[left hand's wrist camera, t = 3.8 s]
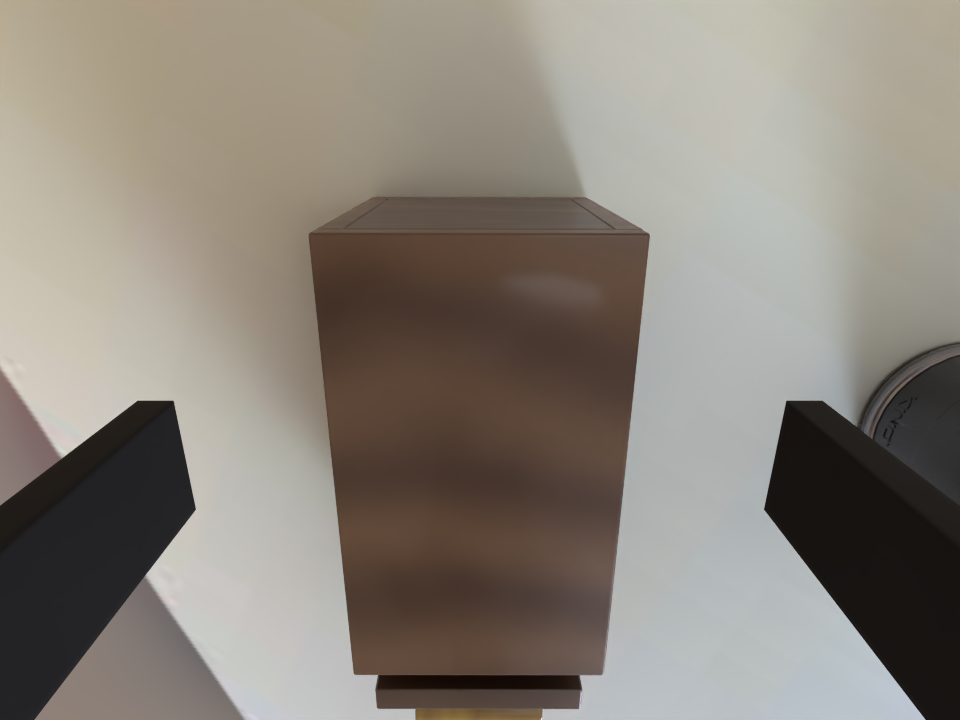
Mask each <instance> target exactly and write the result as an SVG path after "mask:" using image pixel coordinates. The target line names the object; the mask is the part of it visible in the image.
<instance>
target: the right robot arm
mask: <svg viewBox="0 0 960 720" xmlns="http://www.w3.org/2000/svg"><path fill="white" fill-rule="evenodd" d="M860 430H861V431H862V432H864V433H865V434H866V435H868V436H869V437H870V438H872V439H873V440H874V441H876V442H877V443H878V444H880V445H881V446H882V447H883V448H885V449H886V450H887V451H889V452H890V453H891V454H893V455H894V456H895V457H897V458H898V459H899V460H900V461H902V462H903V463H904V464H906V465H907V466H908V467H910V468H911V469H912V470H914V471H915V472H916V473H918V474H919V475H920V476H921V477H923V478H924V479H925V480H927V481H928V482H929V483H931V484H932V485H933V486H935V487H936V488H937V489H938V490H940V491H941V492H942V493H944V494H945V495H946V496H948V497H949V498H950V499H952V500H953V501H954V502H956V503H957V504H958V505H959V506H960V344H955V345H950V346H946V347H942V348H939V349H936V350H934V351H931V352H929V353H926V354H924V355H922V356H920V357H918V358H917V359H915V360H913V361H911V362H910V363H908V364H907V365H905V366H904V367H903V368H901V369H900V370H899V371H897V372H896V373H895V374H894V375H893V376H892V377H891V378H889V379H888V381H887V382H886V383H885V384H884V385H883V386H882V387H881V388H880V390H879V391H878V392H877V393H876V395H875V396H874V398H873V399H872V401H871V403H870V404H869V406H868V408H867V410H866V412H865V415H864V417H863V420H862V424H861V428H860Z"/></svg>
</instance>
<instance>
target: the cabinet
mask: <svg viewBox="0 0 960 720" xmlns="http://www.w3.org/2000/svg"><path fill="white" fill-rule="evenodd" d="M649 238H650V235H649V234H648V233H647V232H645V231H643V230H642V229H641V228H639V227H637V226H635V225H634V224H632V223H630V222H628V221H627V220H625V219H623V218H621V217H620V216H618V215H616V214H614V213H613V212H611V211H609V210H607V209H605V208H604V207H602V206H600V205H598V204H597V203H595V202H593V201H591V200H589V199H587V198H422V197H373V198H371V199H370V200H368V201H366V202H364V203H362V204H361V205H359V206H357V207H355V208H354V209H352V210H350V211H348V212H346V213H345V214H343V215H341V216H339V217H338V218H336V219H334V220H332V221H330V222H329V223H327V224H325V225H323V226H322V227H320V228H318V229H316V230H314V231H313V232H311V233H309V243H310V253H311V263H312V273H313V282H314V292H315V302H316V311H317V321H318V331H319V340H320V350H321V360H322V370H323V379H324V389H325V399H326V408H327V418H328V428H329V437H330V447H331V457H332V467H333V476H334V486H335V496H336V505H337V515H338V525H339V535H340V544H341V554H342V564H343V573H344V583H345V593H346V602H347V612H348V622H349V632H350V641H351V651H352V661H353V670H354V674H355V675H603V674H604V667H605V658H606V648H607V639H608V629H609V620H610V610H611V601H612V591H613V581H614V572H615V562H616V553H617V543H618V534H619V524H620V515H621V505H622V496H623V486H624V477H625V467H626V458H627V448H628V438H629V429H630V419H631V410H632V400H633V391H634V381H635V372H636V362H637V353H638V343H639V334H640V324H641V315H642V305H643V296H644V286H645V276H646V267H647V257H648V248H649Z"/></svg>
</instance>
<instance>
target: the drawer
mask: <svg viewBox="0 0 960 720" xmlns="http://www.w3.org/2000/svg"><path fill="white" fill-rule="evenodd" d="M375 690H376V701H377V708H378V709H416V720H542V709H580V707H581V698H582V686H581V681H580V675H378V679H377V684H376V689H375Z"/></svg>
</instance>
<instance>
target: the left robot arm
mask: <svg viewBox="0 0 960 720" xmlns="http://www.w3.org/2000/svg"><path fill="white" fill-rule="evenodd" d="M195 510H196V508H195V503H194V498H193V493H192V488H191V484H190V479H189V474H188V469H187V464H186V459H185V454H184V449H183V445H182V440H181V435H180V430H179V425H178V420H177V415H176V411H175V406H174V401H137V402H136V403H134V404H133V405H132V406H130V407H129V408H128V409H126V410H125V411H124V412H122V413H121V414H120V415H118V416H117V417H116V418H115V419H113V420H112V421H111V422H109V423H108V424H107V425H105V426H104V427H103V428H101V429H100V430H99V431H98V432H96V433H95V434H94V435H92V436H91V437H90V438H88V439H87V440H86V441H84V442H83V443H82V444H80V445H79V446H78V447H77V448H75V449H74V450H73V451H71V452H70V453H69V454H67V455H66V456H65V457H63V458H62V459H61V460H60V461H58V462H57V463H56V464H54V465H53V466H52V467H50V468H49V469H48V470H46V471H45V472H44V473H43V474H41V475H40V476H39V477H37V478H36V479H35V480H33V481H32V482H31V483H29V484H28V485H27V486H25V487H24V488H23V489H22V490H20V491H19V492H18V493H16V494H15V495H14V496H12V497H11V498H10V499H8V500H7V501H6V502H4V503H3V504H2V505H1V506H0V720H34V719H35V718H36V717H37V716H38V714H39V713H40V712H41V710H42V709H43V708H44V706H45V705H46V704H47V703H48V701H49V700H50V699H51V697H52V696H53V695H54V693H55V692H56V691H57V689H58V688H59V687H60V686H61V684H62V683H63V682H64V680H65V679H66V678H67V676H68V675H69V674H70V673H71V671H72V670H73V669H74V667H75V666H76V665H77V663H78V662H79V661H80V660H81V658H82V657H83V656H84V654H85V653H86V652H87V650H88V649H89V648H90V647H91V645H92V644H93V643H94V641H95V640H96V639H97V637H98V636H99V635H100V634H101V632H102V631H103V630H104V628H105V627H106V626H107V624H108V623H109V622H110V620H111V619H112V618H113V617H114V615H115V614H116V613H117V611H118V610H119V609H120V608H121V606H122V605H123V604H124V602H125V601H126V600H127V598H128V597H129V596H130V594H131V593H132V592H133V591H134V589H135V588H136V587H137V585H138V584H139V583H140V581H141V580H142V579H143V578H144V576H145V575H146V574H147V572H148V571H149V570H150V568H151V567H152V566H153V565H154V563H155V562H156V561H157V559H158V558H159V557H160V555H161V554H162V553H163V552H164V550H165V549H166V548H167V546H168V545H169V544H170V542H171V541H172V540H173V539H174V537H175V536H176V535H177V533H178V532H179V531H180V529H181V528H182V527H183V526H184V524H185V523H186V522H187V520H188V519H189V518H190V516H191V515H192V514H193V513H194V511H195ZM764 510H765V511H766V513H767V514H768V515H769V516H770V518H771V519H772V520H773V522H774V523H775V524H776V526H777V527H778V528H779V529H780V531H781V532H782V533H783V535H784V536H785V537H786V539H787V540H788V541H789V542H790V544H791V545H792V546H793V548H794V549H795V550H796V552H797V553H798V554H799V555H800V557H801V558H802V559H803V561H804V562H805V563H806V565H807V566H808V567H809V568H810V570H811V571H812V572H813V574H814V575H815V576H816V578H817V579H818V580H819V581H820V583H821V584H822V585H823V587H824V588H825V589H826V591H827V592H828V593H829V594H830V596H831V597H832V598H833V600H834V601H835V602H836V604H837V605H838V606H839V608H840V609H841V610H842V611H843V613H844V614H845V615H846V617H847V618H848V619H849V621H850V622H851V623H852V624H853V626H854V627H855V628H856V630H857V631H858V632H859V634H860V635H861V636H862V637H863V639H864V640H865V641H866V643H867V644H868V645H869V647H870V648H871V649H872V650H873V652H874V653H875V654H876V656H877V657H878V658H879V660H880V661H881V662H882V663H883V665H884V666H885V667H886V669H887V670H888V671H889V673H890V674H891V675H892V676H893V678H894V679H895V680H896V682H897V683H898V684H899V686H900V687H901V688H902V689H903V691H904V692H905V693H906V695H907V696H908V697H909V699H910V700H911V701H912V703H913V704H914V705H915V706H916V708H917V709H918V710H919V712H920V713H921V714H922V716H923V717H924V718H925V719H926V720H960V506H959V505H958V504H957V503H956V502H954V501H953V500H952V499H950V498H949V497H948V496H946V495H945V494H944V493H942V492H941V491H940V490H938V489H937V488H936V487H935V486H933V485H932V484H931V483H929V482H928V481H927V480H925V479H924V478H923V477H921V476H920V475H919V474H918V473H916V472H915V471H914V470H912V469H911V468H910V467H908V466H907V465H906V464H904V463H903V462H902V461H900V460H899V459H898V458H897V457H895V456H894V455H893V454H891V453H890V452H889V451H887V450H886V449H885V448H883V447H882V446H881V445H880V444H878V443H877V442H876V441H874V440H873V439H872V438H870V437H869V436H868V435H866V434H865V433H864V432H862V431H861V430H860V429H859V428H857V427H856V426H855V425H853V424H852V423H851V422H849V421H848V420H847V419H845V418H844V417H843V416H842V415H840V414H839V413H838V412H836V411H835V410H834V409H832V408H831V407H830V406H828V405H827V404H826V403H824V402H823V401H786V406H785V411H784V415H783V420H782V425H781V430H780V435H779V440H778V445H777V449H776V454H775V459H774V464H773V469H772V474H771V479H770V484H769V488H768V493H767V498H766V503H765V508H764Z"/></svg>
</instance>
